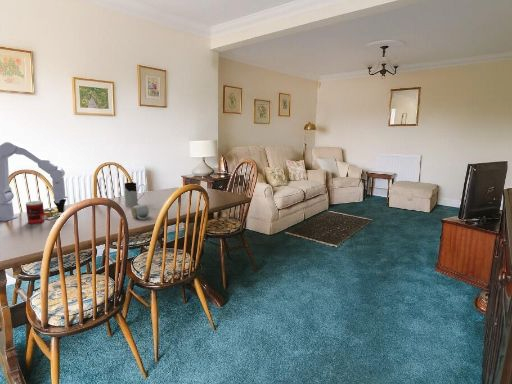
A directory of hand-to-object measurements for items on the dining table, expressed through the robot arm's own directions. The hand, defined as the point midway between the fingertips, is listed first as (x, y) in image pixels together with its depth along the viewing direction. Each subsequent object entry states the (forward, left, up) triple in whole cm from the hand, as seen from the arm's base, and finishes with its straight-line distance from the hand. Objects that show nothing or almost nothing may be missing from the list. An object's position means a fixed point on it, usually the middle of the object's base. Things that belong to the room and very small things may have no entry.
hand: (61, 212), depth 186 cm
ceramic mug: (+43, +13, -3) cm, 45 cm away
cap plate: (-8, 0, -3) cm, 9 cm away
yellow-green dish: (-7, +1, -2) cm, 7 cm away
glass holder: (+24, +39, -3) cm, 46 cm away
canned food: (-6, -12, -3) cm, 13 cm away
